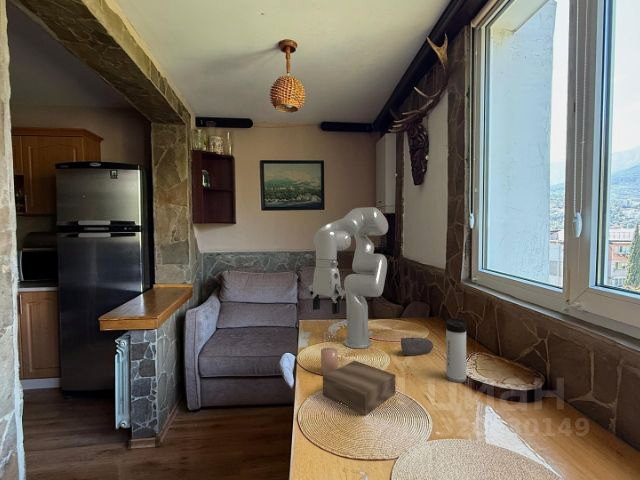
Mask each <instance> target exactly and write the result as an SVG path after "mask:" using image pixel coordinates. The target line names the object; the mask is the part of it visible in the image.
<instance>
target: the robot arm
mask: <svg viewBox="0 0 640 480" xmlns="http://www.w3.org/2000/svg"><path fill="white" fill-rule="evenodd" d="M388 230H389V223H388V220H387V218H386V217H385V215H384V214H383V213H382V211H381V210H379V209H378V208H377V207H374V206H373V207H371V206H369V207H356V208H353V209H351V210H350V211H349V212H348V213H347V214H346V215H345V216H344V217H343V218H340V219H337V220H335V221H332V222H329V223H326V224H324V225H323V226H322V227H320V228H319V229H318V230H317V232H316V233H315V234H314V237H313V245H314V246H315V268H314V272H313V278H312V279H313V282H312V284H310V285H309V286H308V290H309V294H310V296H311V299H312V310H313V311H316V310H320V309H321V298H320V296H323V297H327V298H328V297H330V298H331V300H332V303H331V309H332V310H331V313H332V314H333V315H338V314H340V312H341V311H340V308H341V306H340V304H341V303H342V300H343V299H344V296H345V299H346V301H345V302H346V337H345V339H343V345H344V346H346V347H347V348H350V349H359V350H361V349H366V348H370V347H371V346H372V344H373V343H372V340H371V339H370V337H372V336H373V335H374V332H373V331H372V330H370V331H369V312H368V311H369V306H368V302H367V300H366V298H365V297H371V298H372V297H373V298H374V297H375V298H378V297H381V295H382V294H383V292H384V287H385V281H386V276H387V270H388V260H387V257H386V256H385V255H384V254H382V253H374V251H375V245H374V243H373V241H371V239H370V238H369V237H368V236H383V235H386V233H387V232H388ZM352 236H354V239H355V243H356V246H355V250H354V254H353V255H354V256H353V259H352V266H351V268H352V272H355V273H352V274H348V275H347V276H346V277H345V278H344V281H343V286H344V289H343V288H342V287H341V275H340V271H339V268H338V267H337V266H338V265H339V262H338V261H337V260H338V259H337V257H338V256H337V255H338V254H337V253H338V251H344V250H347V249H348V248H350V246H351V242H352V239H351V237H352Z"/></svg>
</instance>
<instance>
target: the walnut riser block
mask: <svg viewBox="0 0 640 480" xmlns="http://www.w3.org/2000/svg"><path fill="white" fill-rule="evenodd" d="M396 393H397V392H396V374H394V373H392V372H388V371H386V370H383V369H380V368H377V367H374V366H371V365H368V364H366V363H363V362H360V361H357V360H352V361H351V362H349V363H347V364H345V365H342V366H341V367H338V369H336V370H334V371H332V372H330V373H328V374H326V375H322V396H324V397H326V398H327V399H329V400H332V401H334V402H335V403H338V402H339V403H338V404H340V403H342V404H344V405H346V406H348V407H349V409H350V408H351V409H350V410H352V409H353V410H352V411H354V410H355V411H354V412H356V411H357V413H358V412H359V413H358V414H360V413H361V414H360V415H362V414H363V416H364V417H365V416H368V415H369V414H370V413H372V412H373V411H375V409H377V408H378V407H380V406H381V405H382V404H384V403H385V402H386V401H388V400H389V399H391V398H392V397H393V396H394V395H396ZM342 404H341V405H342ZM344 405H343V406H344ZM346 406H345V407H346ZM348 407H347V408H348ZM368 413H369V414H368Z"/></svg>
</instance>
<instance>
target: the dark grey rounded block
mask: <svg viewBox="0 0 640 480" xmlns="http://www.w3.org/2000/svg"><path fill="white" fill-rule="evenodd" d="M400 346H401V352H402V355H403V356H419V355H424V354H428V353H429V352H432V350H433V348H434V343H433V342H432V340H430V339H428V338H423V337H400Z"/></svg>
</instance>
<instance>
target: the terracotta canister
mask: <svg viewBox="0 0 640 480" xmlns="http://www.w3.org/2000/svg"><path fill="white" fill-rule="evenodd" d="M338 352H339V350H338V349H336V348H334V347H325V348H322V349H321V350H320V373H321V375H322V376H324V375H326V374H328V373H330V372H332V371H334V370H336V369H338V368H339V361H338V358H339V354H338Z"/></svg>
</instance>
